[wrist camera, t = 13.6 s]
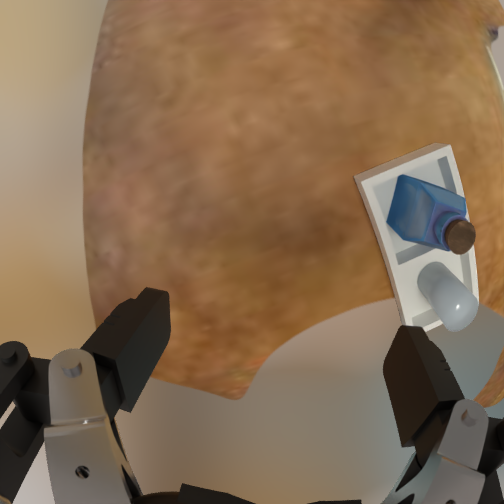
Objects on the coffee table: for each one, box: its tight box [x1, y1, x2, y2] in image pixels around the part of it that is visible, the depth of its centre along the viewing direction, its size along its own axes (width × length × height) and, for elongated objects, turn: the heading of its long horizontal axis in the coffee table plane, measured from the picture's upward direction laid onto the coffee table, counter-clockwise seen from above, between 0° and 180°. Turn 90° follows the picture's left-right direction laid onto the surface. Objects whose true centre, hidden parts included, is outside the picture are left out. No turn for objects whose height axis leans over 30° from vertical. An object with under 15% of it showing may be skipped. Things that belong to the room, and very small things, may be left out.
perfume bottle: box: [386, 174, 476, 255], centre depth 26 cm, size 6×6×12 cm
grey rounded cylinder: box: [417, 262, 478, 331], centre depth 31 cm, size 5×5×9 cm
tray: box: [353, 143, 479, 332], centre depth 32 cm, size 23×12×4 cm, turn 27°
